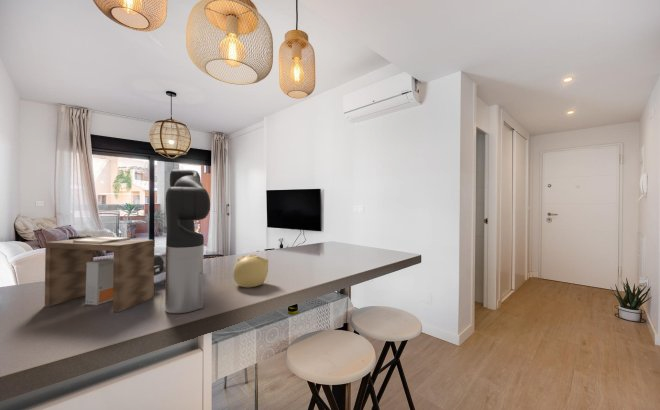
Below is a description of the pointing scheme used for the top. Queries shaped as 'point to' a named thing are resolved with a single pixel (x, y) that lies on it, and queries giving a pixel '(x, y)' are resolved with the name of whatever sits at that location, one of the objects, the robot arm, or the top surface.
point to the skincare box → (99, 281)
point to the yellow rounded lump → (250, 271)
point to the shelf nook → (72, 257)
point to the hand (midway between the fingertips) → (113, 275)
